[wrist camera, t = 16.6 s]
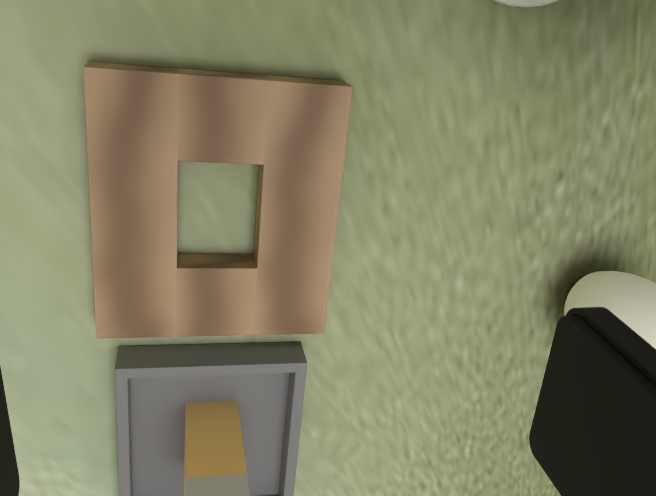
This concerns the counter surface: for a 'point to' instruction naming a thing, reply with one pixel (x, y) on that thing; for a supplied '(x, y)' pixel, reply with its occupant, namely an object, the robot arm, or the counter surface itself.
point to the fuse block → (214, 450)
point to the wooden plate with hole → (162, 198)
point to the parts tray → (208, 386)
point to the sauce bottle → (619, 299)
